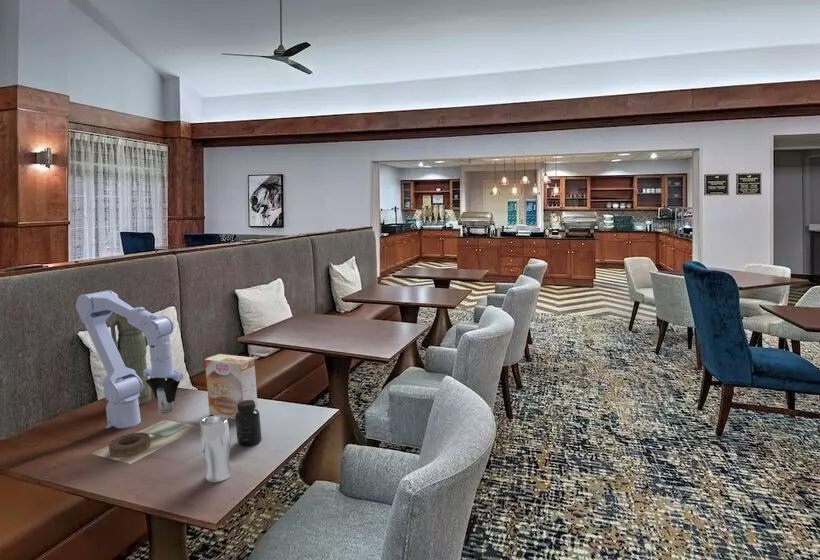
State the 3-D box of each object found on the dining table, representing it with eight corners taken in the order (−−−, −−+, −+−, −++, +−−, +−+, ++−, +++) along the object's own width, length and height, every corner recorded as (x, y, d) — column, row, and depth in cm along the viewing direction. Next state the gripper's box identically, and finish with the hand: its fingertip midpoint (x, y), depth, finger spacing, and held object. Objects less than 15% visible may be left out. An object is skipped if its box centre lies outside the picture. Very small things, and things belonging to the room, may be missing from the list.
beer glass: (209, 470, 129) (204, 415, 127) (236, 468, 130) (231, 413, 128) (200, 484, 123) (194, 427, 121) (229, 482, 123) (224, 425, 121)
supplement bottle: (242, 436, 149) (239, 398, 147) (264, 436, 148) (262, 398, 147) (233, 447, 142) (230, 407, 140) (257, 447, 142) (254, 407, 140)
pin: (156, 412, 151) (153, 387, 149) (167, 407, 154) (164, 383, 153) (165, 414, 149) (162, 389, 148) (176, 409, 153) (173, 384, 151)
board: (91, 457, 139) (89, 445, 138) (164, 422, 160) (163, 412, 160) (130, 467, 132) (129, 455, 132) (201, 430, 154) (200, 419, 153)
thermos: (161, 398, 182) (151, 304, 177) (128, 409, 172) (117, 311, 167) (147, 394, 187) (137, 303, 182) (115, 405, 177) (103, 309, 172)
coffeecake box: (208, 415, 165) (203, 359, 162) (224, 407, 171) (219, 353, 169) (244, 421, 159) (239, 363, 157) (259, 413, 166) (254, 356, 163)
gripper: (132, 359, 149) (137, 402, 150) (167, 363, 143) (172, 408, 145) (153, 352, 155) (157, 394, 157) (187, 357, 149) (191, 400, 151)
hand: (165, 400), depth 151 cm, fingers closed on pin, 4 cm apart
